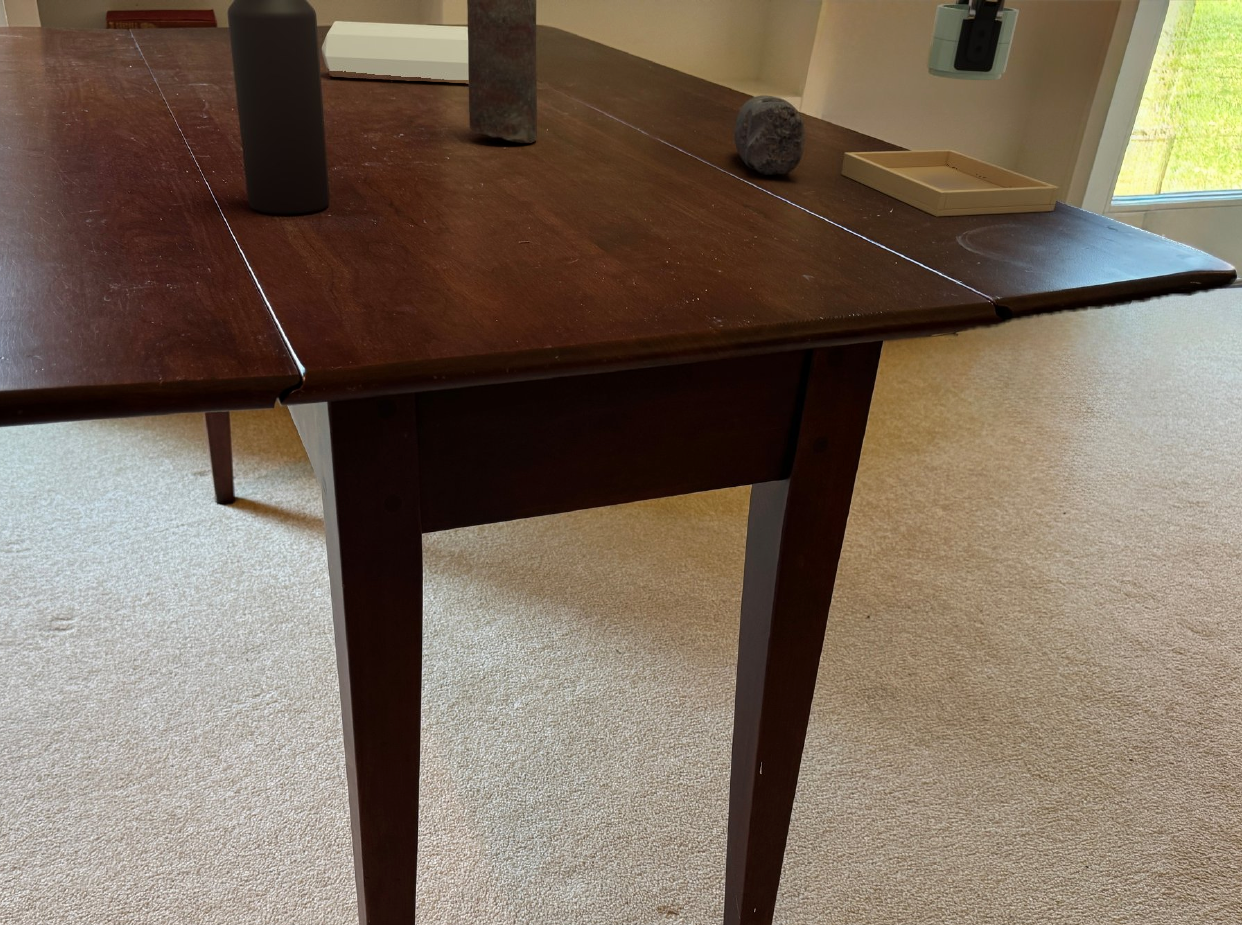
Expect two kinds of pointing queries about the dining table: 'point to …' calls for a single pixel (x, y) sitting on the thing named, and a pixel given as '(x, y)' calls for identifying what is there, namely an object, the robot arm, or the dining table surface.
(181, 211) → the dining table surface
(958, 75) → the mint green planter pot
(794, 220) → the dining table surface
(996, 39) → the robot arm
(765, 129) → the perforated stone tool
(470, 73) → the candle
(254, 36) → the bottle
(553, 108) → the dining table surface
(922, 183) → the serving tray
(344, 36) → the white chamfered bar
